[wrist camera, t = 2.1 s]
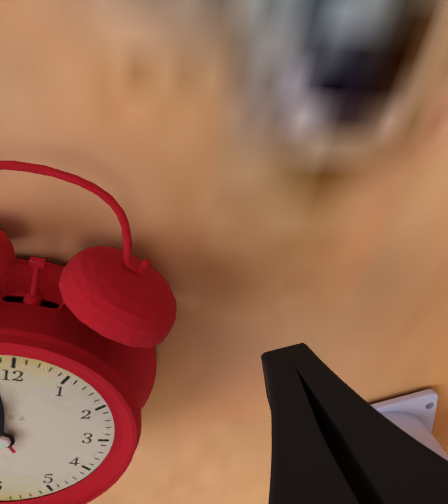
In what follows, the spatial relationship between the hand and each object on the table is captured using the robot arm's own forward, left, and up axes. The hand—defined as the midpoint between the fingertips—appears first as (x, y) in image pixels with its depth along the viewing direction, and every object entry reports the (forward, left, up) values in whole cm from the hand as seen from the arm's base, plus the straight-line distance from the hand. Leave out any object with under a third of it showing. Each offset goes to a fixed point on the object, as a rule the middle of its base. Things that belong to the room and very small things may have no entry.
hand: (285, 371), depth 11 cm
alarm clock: (0, +9, -6) cm, 11 cm away
